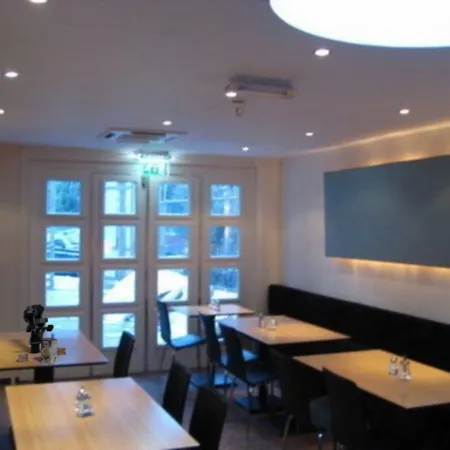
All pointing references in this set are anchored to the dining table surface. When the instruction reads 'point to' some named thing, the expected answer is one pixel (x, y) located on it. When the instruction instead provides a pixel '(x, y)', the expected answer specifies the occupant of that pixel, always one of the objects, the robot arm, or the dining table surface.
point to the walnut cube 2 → (61, 351)
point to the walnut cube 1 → (22, 357)
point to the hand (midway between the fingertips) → (41, 338)
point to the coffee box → (48, 350)
